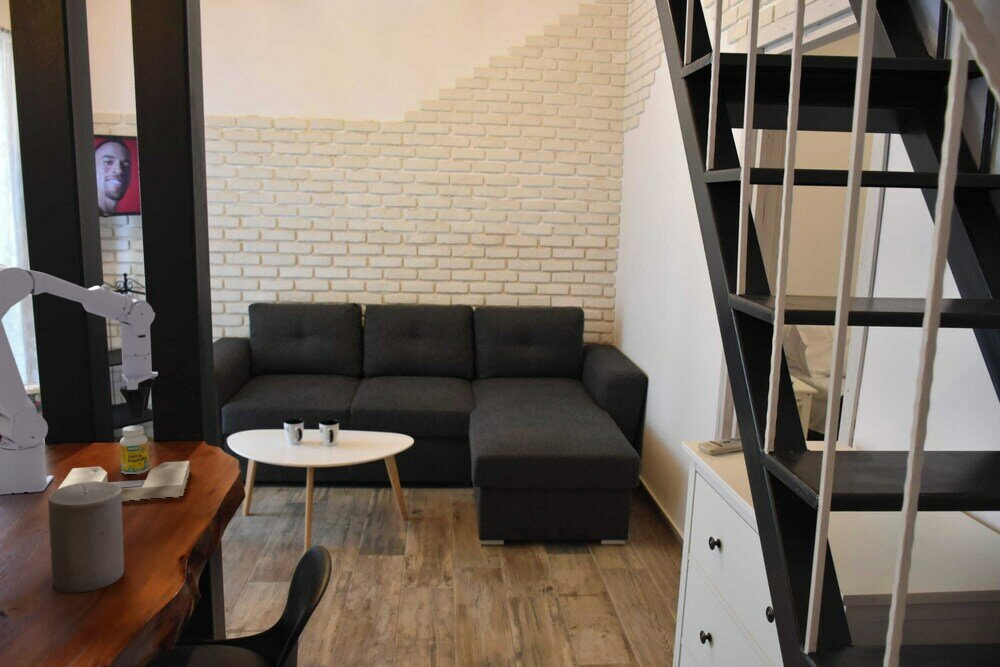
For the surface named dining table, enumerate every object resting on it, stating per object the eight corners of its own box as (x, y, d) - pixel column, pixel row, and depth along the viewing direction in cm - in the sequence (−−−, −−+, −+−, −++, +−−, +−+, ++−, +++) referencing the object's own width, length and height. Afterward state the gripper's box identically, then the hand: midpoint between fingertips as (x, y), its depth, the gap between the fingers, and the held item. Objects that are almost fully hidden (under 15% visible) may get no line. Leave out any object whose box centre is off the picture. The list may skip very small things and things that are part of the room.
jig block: (54, 506, 135) (53, 493, 134) (73, 479, 148) (72, 467, 147) (182, 496, 142) (182, 483, 141) (189, 472, 155) (189, 460, 154)
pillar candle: (47, 598, 104) (41, 500, 102) (57, 567, 113) (52, 476, 110) (122, 587, 108) (119, 492, 105) (127, 558, 117) (124, 470, 114)
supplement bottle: (144, 464, 158) (142, 422, 156) (153, 471, 154) (151, 428, 153) (117, 470, 154) (115, 427, 153) (126, 477, 150) (123, 433, 149)
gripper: (151, 359, 152) (154, 422, 154) (161, 347, 166) (163, 404, 168) (114, 360, 150) (117, 423, 152) (127, 347, 164) (129, 405, 166)
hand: (139, 413), depth 160 cm, fingers open, 6 cm apart
